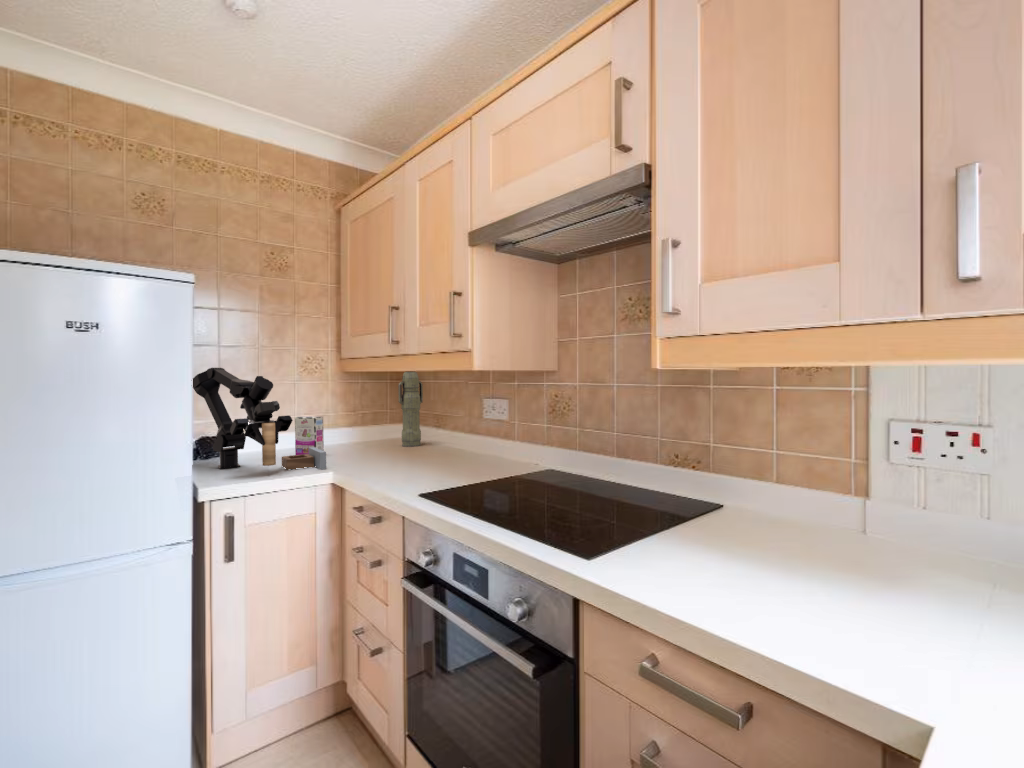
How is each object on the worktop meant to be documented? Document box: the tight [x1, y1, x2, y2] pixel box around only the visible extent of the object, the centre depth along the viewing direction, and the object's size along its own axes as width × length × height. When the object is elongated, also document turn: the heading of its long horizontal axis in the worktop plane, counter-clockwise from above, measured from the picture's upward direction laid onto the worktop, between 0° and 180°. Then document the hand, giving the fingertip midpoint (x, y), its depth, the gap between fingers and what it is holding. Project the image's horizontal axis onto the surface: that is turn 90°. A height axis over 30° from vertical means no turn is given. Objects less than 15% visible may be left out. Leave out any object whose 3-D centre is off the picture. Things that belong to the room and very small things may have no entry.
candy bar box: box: [294, 415, 325, 455], centre depth 202 cm, size 11×5×16 cm, turn 68°
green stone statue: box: [397, 371, 424, 448], centre depth 230 cm, size 9×12×35 cm
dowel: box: [261, 423, 277, 467], centre depth 163 cm, size 4×4×14 cm
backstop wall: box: [309, 447, 327, 470], centre depth 178 cm, size 16×2×6 cm, turn 36°
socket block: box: [281, 454, 315, 470], centre depth 177 cm, size 9×9×4 cm
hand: (270, 443), depth 162 cm, fingers closed on dowel, 4 cm apart
